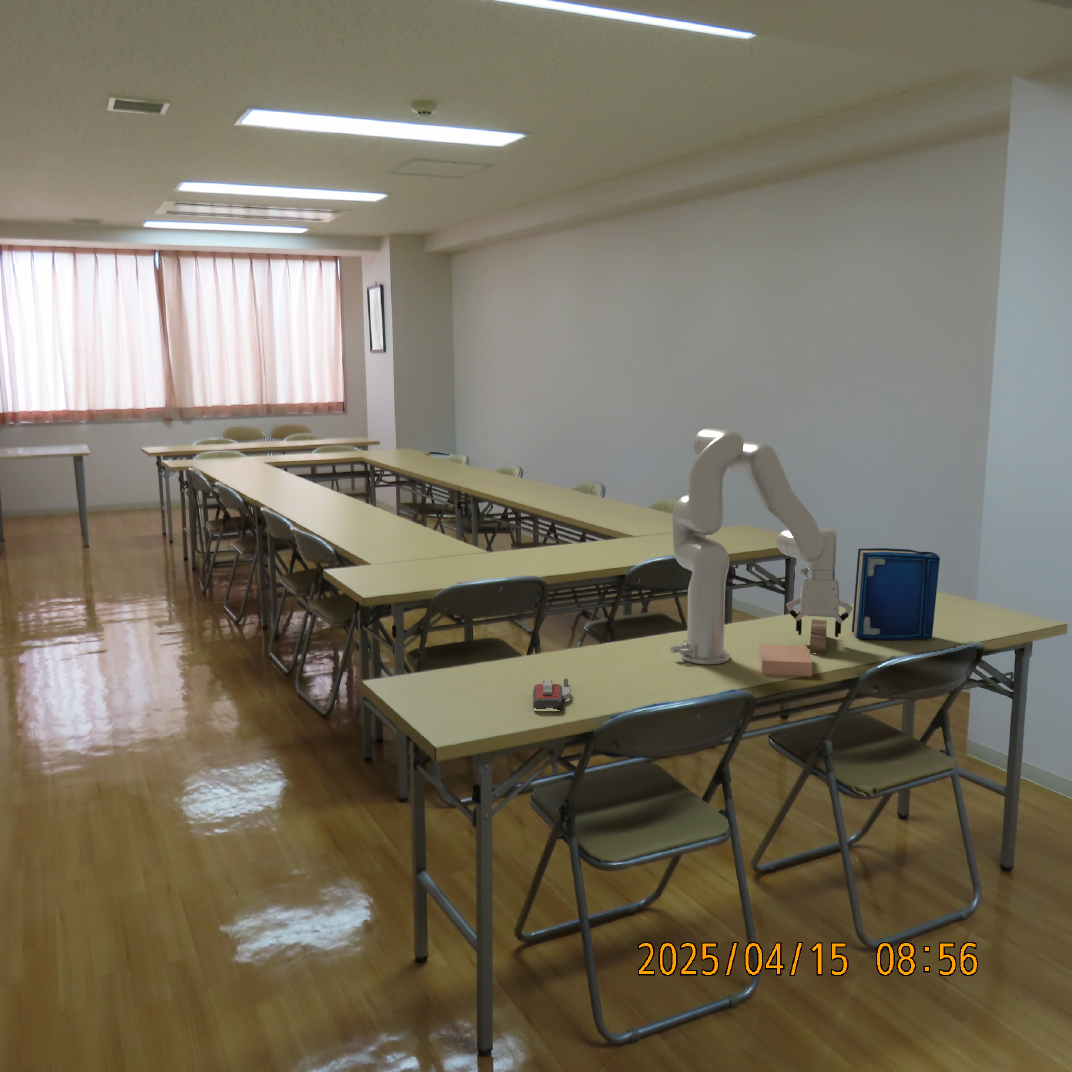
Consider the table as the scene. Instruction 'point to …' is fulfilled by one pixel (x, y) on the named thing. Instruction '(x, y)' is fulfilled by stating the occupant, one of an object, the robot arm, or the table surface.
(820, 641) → the block
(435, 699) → the table surface
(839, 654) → the table surface
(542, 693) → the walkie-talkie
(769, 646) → the tile
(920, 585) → the book
